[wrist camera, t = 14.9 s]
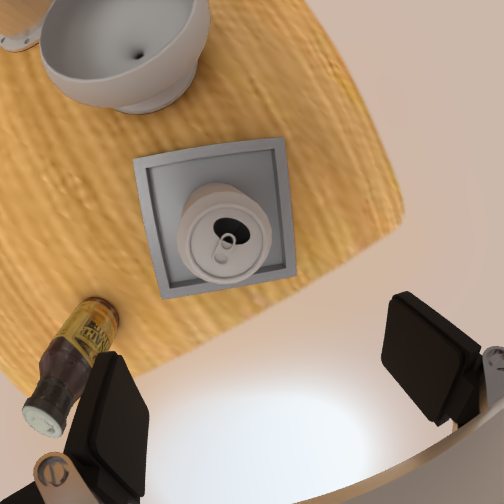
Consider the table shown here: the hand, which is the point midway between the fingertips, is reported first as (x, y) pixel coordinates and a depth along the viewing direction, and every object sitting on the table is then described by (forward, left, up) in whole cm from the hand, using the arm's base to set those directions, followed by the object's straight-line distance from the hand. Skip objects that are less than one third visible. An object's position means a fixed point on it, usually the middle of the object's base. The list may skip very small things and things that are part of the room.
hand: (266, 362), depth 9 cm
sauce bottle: (+10, -18, -26) cm, 33 cm away
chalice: (-19, -6, -26) cm, 33 cm away
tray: (0, 0, -26) cm, 26 cm away
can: (0, 0, -25) cm, 25 cm away
